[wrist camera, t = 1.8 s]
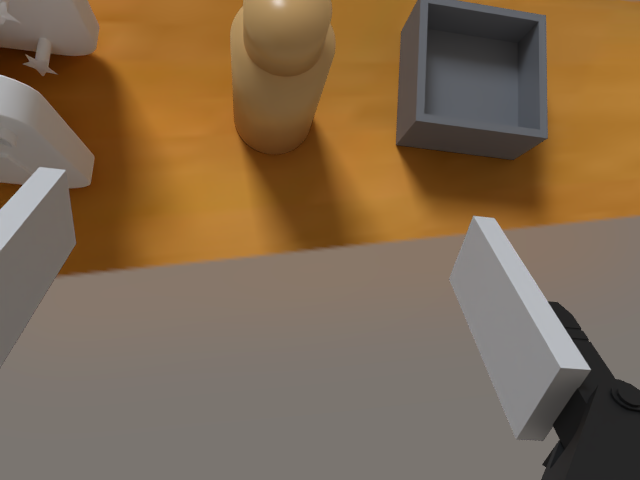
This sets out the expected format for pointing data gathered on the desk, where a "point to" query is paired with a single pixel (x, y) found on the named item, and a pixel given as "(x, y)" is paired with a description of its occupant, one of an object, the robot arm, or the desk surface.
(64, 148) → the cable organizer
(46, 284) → the robot arm
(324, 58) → the beige rounded figurine
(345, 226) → the desk surface
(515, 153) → the grey open square box
